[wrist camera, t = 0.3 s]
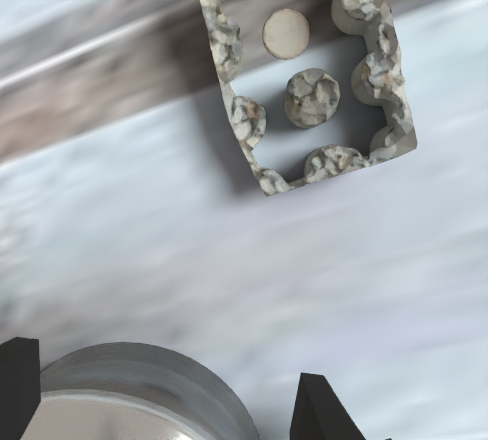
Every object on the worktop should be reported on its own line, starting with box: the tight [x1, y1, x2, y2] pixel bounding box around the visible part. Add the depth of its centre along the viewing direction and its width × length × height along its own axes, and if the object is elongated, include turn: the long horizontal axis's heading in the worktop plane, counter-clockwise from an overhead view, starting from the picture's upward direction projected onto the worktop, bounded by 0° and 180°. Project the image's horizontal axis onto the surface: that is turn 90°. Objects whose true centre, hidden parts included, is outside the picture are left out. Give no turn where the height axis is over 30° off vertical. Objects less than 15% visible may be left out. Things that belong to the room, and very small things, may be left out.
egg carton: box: [200, 0, 417, 196], centre depth 18 cm, size 11×8×4 cm
